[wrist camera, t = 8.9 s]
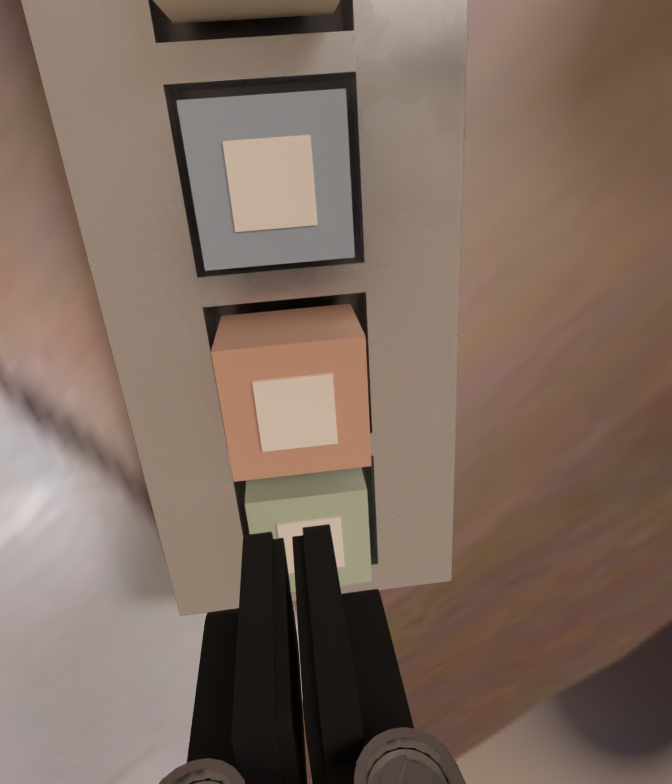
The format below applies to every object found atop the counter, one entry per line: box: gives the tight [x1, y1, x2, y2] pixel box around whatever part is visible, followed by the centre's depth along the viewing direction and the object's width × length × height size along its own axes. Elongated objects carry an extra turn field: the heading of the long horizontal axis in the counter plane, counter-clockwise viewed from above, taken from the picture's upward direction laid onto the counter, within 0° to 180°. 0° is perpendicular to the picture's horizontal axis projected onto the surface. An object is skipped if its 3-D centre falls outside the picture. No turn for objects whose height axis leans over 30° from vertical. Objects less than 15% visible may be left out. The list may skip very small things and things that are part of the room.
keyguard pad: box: [21, 0, 468, 616], centre depth 20 cm, size 12×28×3 cm, turn 4°
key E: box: [245, 467, 372, 592], centre depth 23 cm, size 4×4×4 cm
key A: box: [211, 304, 372, 482], centre depth 19 cm, size 4×4×4 cm
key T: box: [176, 89, 355, 271], centre depth 17 cm, size 4×4×4 cm
